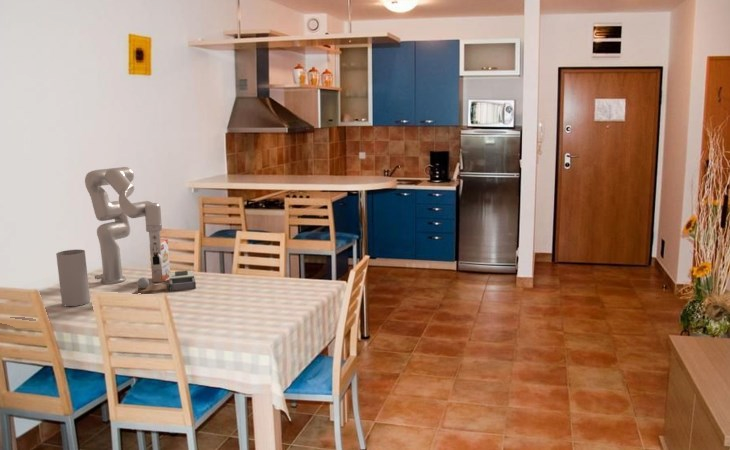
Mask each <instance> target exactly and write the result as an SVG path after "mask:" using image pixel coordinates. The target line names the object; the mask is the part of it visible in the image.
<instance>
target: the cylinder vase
mask: <svg viewBox="0 0 730 450" xmlns="http://www.w3.org/2000/svg"><path fill="white" fill-rule="evenodd" d="M55 257H56V265H57V272H58V281H59V290H60V298H61V305H62V304H63V305H62V306H64V305H66V306H65V307H68V306H73V307H79V306H78V305H80V306H84V305H86V303H87V304H88V303H90V301H91V296H90V286H89V277H88V276H89V275H88V267H87V259H86V258H87V257H86V250H84V249H67V250H61V251H58V252H57V253H56V256H55ZM83 304H84V305H83Z"/></svg>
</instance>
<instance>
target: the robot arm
mask: <svg viewBox="0 0 730 450" xmlns="http://www.w3.org/2000/svg"><path fill="white" fill-rule="evenodd" d="M134 179H135V175H134V172H133V170H132V169H131V168H130V167H128V166H122V167H121V166H120V167H113V168H110V167H109V168H102V169H94V170H91V171H88V173H86V175H85V177H84V184H85V188H86V190H87V193H88V194H89V197H90V200H91V203H92V204H91V205H92V207H93V211H94V215H95V218H96V219H97V220H98V221H100V222H104V223H102V224H100V225H99V226H98V227H97V229H96V235H97V238H98V243H99V247H100V255H101V264H102V273H101V274H95V275H94V279H95V280H100V283H101V284H105V285H106V284H110V285H111V284H112V285H113V284H119V283H123V282H125V281H126V280H127V279H126V276H124V275H123V270H122V259H121V249H120V245H119V244H118V243H117V242H116V240H119V239H120V240H121V239H124V238H127V237H129V236H130V234H131V226H130V222H129V218H131V219H136V218H137V219H138V218H142V217H143V218H145V230H146V232H147V233H148V237H149V238H148V239H149V248H150V247H151V251H153V265H158V264H160V260H159V253H158V250H160V251H161V239H162V238H161V237H162V236H161V232H162V231H163V226H162V210H161V205H160V203H158V202H151V201H148V200H145V201H138V202H137V201H136V202H133V203H132V202H131V201H130V200H129V199H128V198H129V197H130V196H131V195H133V193H134V191H135V186H134V184H132V182H133V181H134ZM102 186H111V187H112V189H113V190H114V191H115V192H116V194H118V200H115V201H110V198H109V194H108V192H107V191H106V190H105V189H104V188H103V187H102ZM112 220H114V221H112ZM105 221H111V222H106V223H105ZM157 254H158V255H157Z"/></svg>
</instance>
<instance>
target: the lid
mask: <svg viewBox="0 0 730 450" xmlns="http://www.w3.org/2000/svg"><path fill="white" fill-rule="evenodd" d="M194 273H195V272H194V270H179V271H178V270H177V271H174V272H170V273H169V277H168V279H179V278H189V277H194V278H195V274H194Z"/></svg>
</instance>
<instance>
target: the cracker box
mask: <svg viewBox="0 0 730 450" xmlns="http://www.w3.org/2000/svg"><path fill="white" fill-rule="evenodd" d="M149 253H150V257H151V255H152V254H153V251H151V247H150V246H149ZM158 253H159V254H160V255H161V257H162V261H161V262H160V264H158V265H153V263H152V262H151V261H150V265H151V266H150V267H151V279H152V280H151V281H152V283H163V282H164V281H166V280H167V279H169V273H171V267H170V266H171V265H170V254H169V253H170V252H169V239H167V238H161V251H160V250H158Z"/></svg>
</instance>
